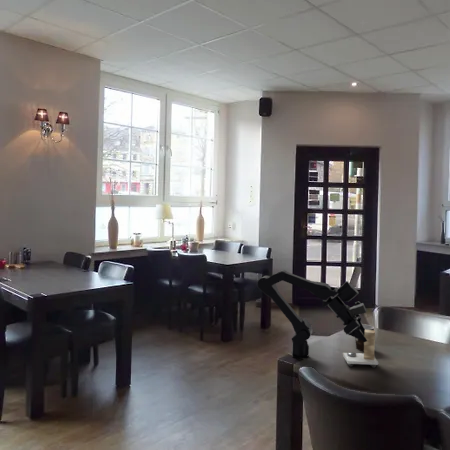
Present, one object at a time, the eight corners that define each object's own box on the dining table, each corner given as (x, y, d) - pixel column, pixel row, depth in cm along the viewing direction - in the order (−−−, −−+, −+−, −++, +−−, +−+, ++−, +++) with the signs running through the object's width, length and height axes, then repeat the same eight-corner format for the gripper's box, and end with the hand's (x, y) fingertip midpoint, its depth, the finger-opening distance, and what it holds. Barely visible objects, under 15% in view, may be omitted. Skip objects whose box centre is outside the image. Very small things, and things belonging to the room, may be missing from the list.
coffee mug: (374, 352, 200) (375, 330, 200) (354, 350, 202) (354, 328, 201) (371, 344, 211) (372, 323, 211) (352, 342, 213) (353, 321, 213)
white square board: (347, 367, 182) (347, 361, 181) (342, 358, 192) (343, 352, 191) (378, 368, 181) (378, 362, 181) (371, 359, 191) (372, 353, 191)
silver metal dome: (348, 356, 187) (348, 354, 187) (346, 353, 190) (346, 351, 190) (357, 357, 186) (357, 355, 186) (355, 354, 190) (355, 352, 190)
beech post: (363, 358, 184) (364, 332, 184) (363, 355, 188) (364, 329, 188) (374, 359, 183) (374, 333, 183) (374, 356, 187) (374, 330, 186)
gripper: (353, 301, 177) (382, 332, 175) (355, 292, 195) (381, 320, 192) (332, 318, 180) (359, 349, 178) (336, 308, 198) (361, 336, 195)
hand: (366, 338), depth 186 cm, fingers open, 9 cm apart
